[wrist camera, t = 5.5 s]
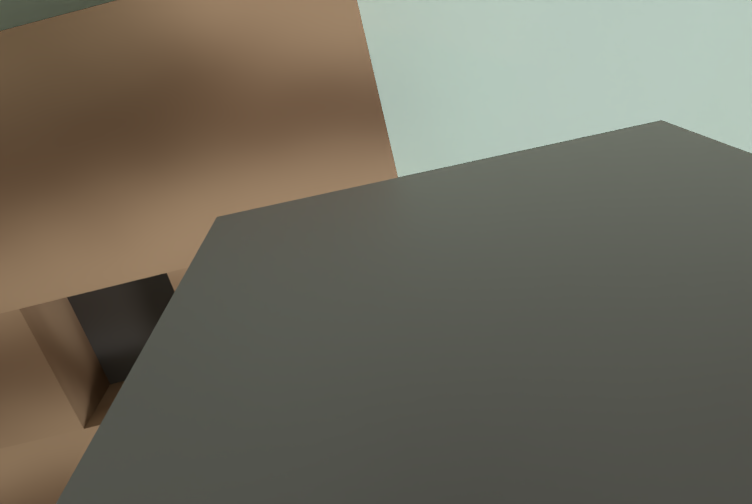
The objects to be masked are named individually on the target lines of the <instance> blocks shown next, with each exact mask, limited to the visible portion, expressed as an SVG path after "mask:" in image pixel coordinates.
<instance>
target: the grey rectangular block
mask: <svg viewBox="0 0 752 504" xmlns="http://www.w3.org/2000/svg"><path fill="white" fill-rule="evenodd" d="M56 504H752V154H751V153H749V152H746V151H743V150H740V149H738V148H735V147H732V146H730V145H727V144H724V143H721V142H719V141H716V140H713V139H711V138H708V137H705V136H702V135H700V134H697V133H694V132H692V131H689V130H686V129H684V128H681V127H678V126H675V125H673V124H670V123H667V122H665V121H662V120H661V121H656V122H652V123H647V124H642V125H638V126H633V127H629V128H624V129H619V130H615V131H610V132H605V133H601V134H596V135H592V136H587V137H582V138H578V139H573V140H569V141H564V142H559V143H555V144H550V145H546V146H541V147H536V148H532V149H527V150H523V151H518V152H513V153H509V154H504V155H500V156H495V157H490V158H486V159H481V160H477V161H472V162H467V163H463V164H458V165H454V166H449V167H444V168H440V169H435V170H430V171H426V172H421V173H417V174H412V175H407V176H403V177H398V178H394V179H389V180H384V181H380V182H375V183H371V184H366V185H361V186H357V187H352V188H348V189H343V190H338V191H334V192H329V193H325V194H320V195H315V196H311V197H306V198H302V199H297V200H292V201H288V202H283V203H279V204H274V205H269V206H265V207H260V208H255V209H251V210H246V211H242V212H237V213H232V214H228V215H223V216H219V217H216V219H215V221H214V223H213V225H212V226H211V228H210V230H209V232H208V233H207V235H206V237H205V239H204V241H203V242H202V244H201V246H200V248H199V249H198V251H197V253H196V255H195V257H194V258H193V260H192V262H191V264H190V266H189V267H188V269H187V271H186V273H185V274H184V276H183V278H182V280H181V282H180V283H179V285H178V287H177V289H176V290H175V292H174V294H173V296H172V298H171V299H170V301H169V303H168V305H167V307H166V308H165V310H164V312H163V314H162V315H161V317H160V319H159V321H158V323H157V324H156V326H155V328H154V330H153V331H152V333H151V335H150V337H149V339H148V340H147V342H146V344H145V346H144V347H143V349H142V351H141V353H140V355H139V356H138V358H137V360H136V362H135V364H134V365H133V367H132V369H131V371H130V372H129V374H128V376H127V378H126V380H125V381H124V383H123V385H122V387H121V388H120V390H119V392H118V394H117V396H116V397H115V399H114V401H113V403H112V405H111V406H110V408H109V410H108V412H107V413H106V415H105V417H104V419H103V421H102V422H101V424H100V426H99V428H98V429H97V431H96V433H95V435H94V437H93V438H92V440H91V442H90V444H89V446H88V447H87V449H86V451H85V453H84V454H83V456H82V458H81V460H80V462H79V463H78V465H77V467H76V469H75V470H74V472H73V474H72V476H71V478H70V479H69V481H68V483H67V485H66V486H65V488H64V490H63V492H62V494H61V495H60V497H59V499H58V501H57V503H56Z"/></svg>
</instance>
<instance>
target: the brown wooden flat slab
mask: <svg viewBox="0 0 752 504" xmlns="http://www.w3.org/2000/svg"><path fill="white" fill-rule="evenodd" d="M394 178H398V176H397V172H396V167H395V163H394V159H393V154H392V150H391V146H390V141H389V137H388V133H387V128H386V124H385V120H384V115H383V111H382V107H381V102H380V98H379V94H378V90H377V85H376V81H375V77H374V72H373V68H372V64H371V59H370V55H369V51H368V46H367V42H366V38H365V33H364V29H363V25H362V20H361V16H360V12H359V8H358V3H357V0H116V1H112V2H108V3H104V4H101V5H97V6H93V7H89V8H85V9H82V10H78V11H74V12H70V13H66V14H63V15H59V16H55V17H51V18H47V19H44V20H40V21H36V22H32V23H28V24H25V25H21V26H17V27H13V28H10V29H6V30H2V31H0V504H56V503H57V501H58V499H59V497H60V495H61V494H62V492H63V490H64V488H65V486H66V485H67V483H68V481H69V479H70V478H71V476H72V474H73V472H74V470H75V469H76V467H77V465H78V463H79V462H80V460H81V458H82V456H83V454H84V453H85V451H86V449H87V447H88V446H89V444H90V442H91V440H92V438H93V437H94V435H95V433H96V431H97V429H98V428H99V426H100V424H101V422H102V421H103V419H104V417H105V415H106V413H107V412H108V410H109V408H110V406H111V405H112V403H113V401H114V399H115V397H116V396H117V394H118V392H119V390H120V388H121V387H122V385H123V383H124V381H125V380H126V378H127V376H128V374H129V372H130V371H131V369H132V367H133V365H134V364H135V362H136V360H137V358H138V356H139V355H140V353H141V351H142V349H143V347H144V346H145V344H146V342H147V340H148V339H149V337H150V335H151V333H152V331H153V330H154V328H155V326H156V324H157V323H158V321H159V319H160V317H161V315H162V314H163V312H164V310H165V308H166V307H167V305H168V303H169V301H170V299H171V298H172V296H173V294H174V292H175V290H176V289H177V287H178V285H179V283H180V282H181V280H182V278H183V276H184V274H185V273H186V271H187V269H188V267H189V266H190V264H191V262H192V260H193V258H194V257H195V255H196V253H197V251H198V249H199V248H200V246H201V244H202V242H203V241H204V239H205V237H206V235H207V233H208V232H209V230H210V228H211V226H212V225H213V223H214V221H215V219H216V217H219V216H223V215H228V214H232V213H237V212H242V211H246V210H251V209H255V208H260V207H265V206H269V205H274V204H279V203H283V202H288V201H292V200H297V199H302V198H306V197H311V196H315V195H320V194H325V193H329V192H334V191H338V190H343V189H348V188H352V187H357V186H361V185H366V184H371V183H375V182H380V181H384V180H389V179H394Z"/></svg>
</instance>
